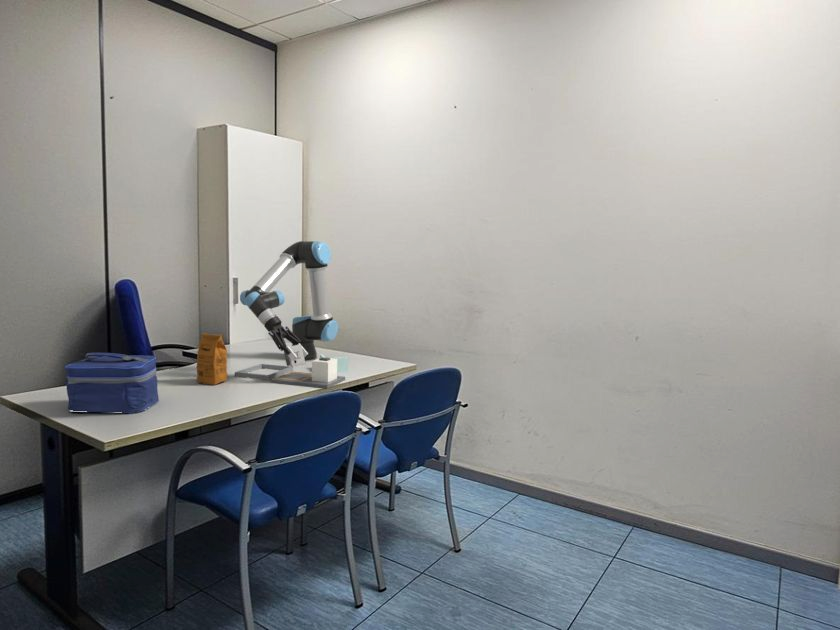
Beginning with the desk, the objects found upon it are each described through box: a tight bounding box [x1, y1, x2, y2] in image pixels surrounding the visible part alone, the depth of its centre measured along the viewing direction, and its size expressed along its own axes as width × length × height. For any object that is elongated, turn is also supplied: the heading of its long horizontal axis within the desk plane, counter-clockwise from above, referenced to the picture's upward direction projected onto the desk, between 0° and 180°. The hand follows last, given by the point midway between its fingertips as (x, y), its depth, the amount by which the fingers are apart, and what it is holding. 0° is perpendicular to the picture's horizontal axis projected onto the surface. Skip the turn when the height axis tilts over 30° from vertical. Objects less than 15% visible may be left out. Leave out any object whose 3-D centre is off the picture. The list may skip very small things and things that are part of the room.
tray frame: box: [234, 363, 294, 381], centre depth 272 cm, size 22×18×2 cm
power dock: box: [270, 356, 346, 389], centre depth 257 cm, size 18×28×11 cm, turn 72°
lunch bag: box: [64, 352, 160, 414], centre depth 209 cm, size 31×21×20 cm
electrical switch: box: [283, 345, 306, 368], centre depth 258 cm, size 9×5×9 cm, turn 151°
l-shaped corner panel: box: [319, 353, 349, 373], centre depth 282 cm, size 12×12×8 cm
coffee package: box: [196, 332, 228, 386], centre depth 250 cm, size 10×12×22 cm
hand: (300, 357), depth 257 cm, fingers closed on electrical switch, 9 cm apart
